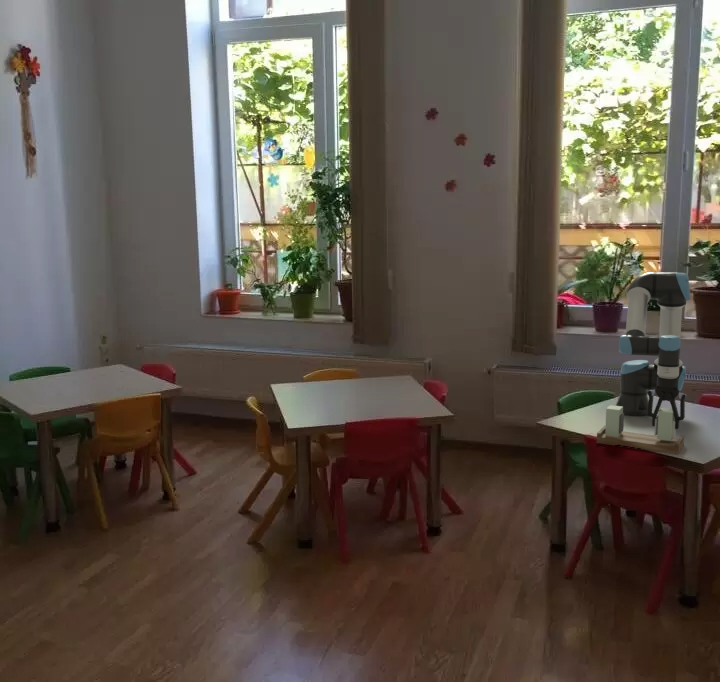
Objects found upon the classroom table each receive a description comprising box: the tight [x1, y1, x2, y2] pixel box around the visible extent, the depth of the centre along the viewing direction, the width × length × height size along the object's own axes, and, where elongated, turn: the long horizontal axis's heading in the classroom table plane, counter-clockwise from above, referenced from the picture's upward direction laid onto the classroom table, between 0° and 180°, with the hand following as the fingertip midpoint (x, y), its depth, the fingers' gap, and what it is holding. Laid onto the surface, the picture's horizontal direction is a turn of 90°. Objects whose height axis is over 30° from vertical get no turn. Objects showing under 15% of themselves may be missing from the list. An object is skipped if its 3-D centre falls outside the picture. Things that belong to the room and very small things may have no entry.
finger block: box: [656, 406, 675, 441], centre depth 287 cm, size 6×6×11 cm
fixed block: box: [605, 404, 625, 437], centre depth 297 cm, size 6×6×11 cm
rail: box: [596, 425, 685, 455], centre depth 293 cm, size 12×30×4 cm, turn 58°
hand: (664, 435), depth 288 cm, fingers closed on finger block, 6 cm apart
